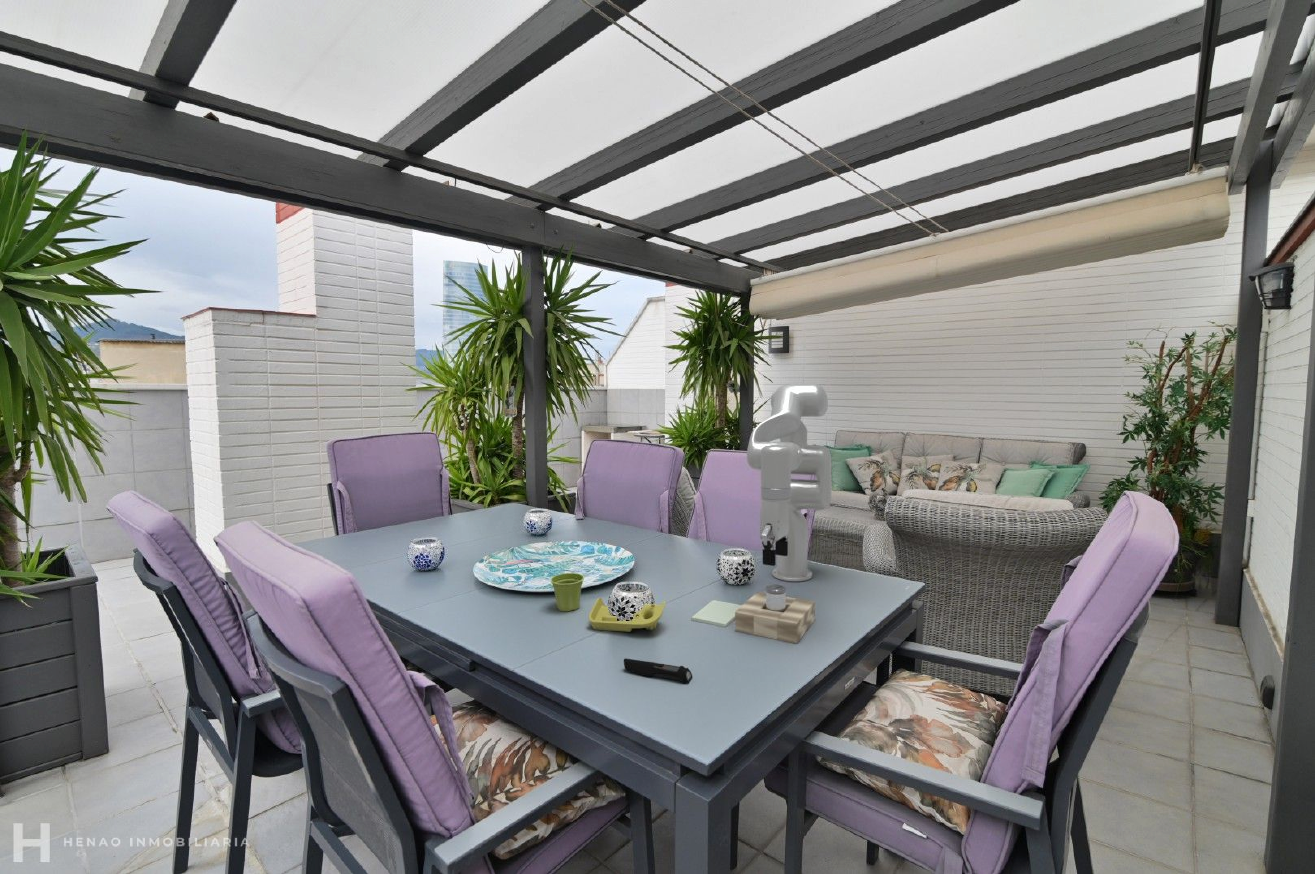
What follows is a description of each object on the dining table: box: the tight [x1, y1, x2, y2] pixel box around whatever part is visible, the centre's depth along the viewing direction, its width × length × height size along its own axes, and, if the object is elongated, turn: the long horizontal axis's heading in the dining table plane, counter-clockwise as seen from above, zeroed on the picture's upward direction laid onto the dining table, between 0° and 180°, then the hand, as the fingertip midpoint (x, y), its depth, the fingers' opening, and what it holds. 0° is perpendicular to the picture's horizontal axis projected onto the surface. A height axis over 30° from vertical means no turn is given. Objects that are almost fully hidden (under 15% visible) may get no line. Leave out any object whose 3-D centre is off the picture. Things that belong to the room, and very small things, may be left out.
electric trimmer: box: [623, 658, 693, 685], centre depth 131 cm, size 4×16×3 cm, turn 68°
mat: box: [690, 599, 743, 628], centre depth 164 cm, size 14×10×1 cm
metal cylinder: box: [765, 584, 787, 613], centre depth 156 cm, size 5×5×10 cm
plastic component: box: [588, 597, 667, 633], centre depth 158 cm, size 20×7×10 cm
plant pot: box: [550, 572, 585, 612], centre depth 171 cm, size 9×9×9 cm
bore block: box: [734, 591, 816, 644], centre depth 156 cm, size 16×16×5 cm
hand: (775, 559), depth 154 cm, fingers open, 9 cm apart
